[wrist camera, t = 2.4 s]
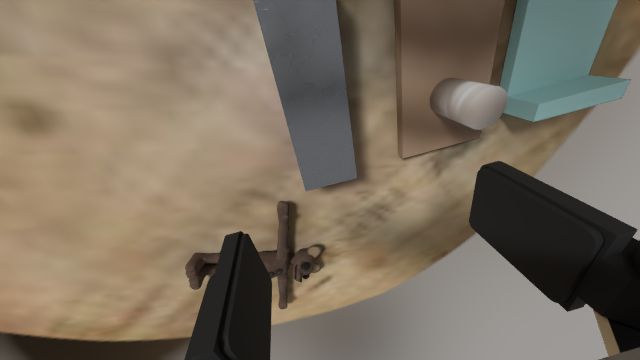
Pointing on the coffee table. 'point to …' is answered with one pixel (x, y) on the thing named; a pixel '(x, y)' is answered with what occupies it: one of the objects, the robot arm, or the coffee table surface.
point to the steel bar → (311, 85)
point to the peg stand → (445, 72)
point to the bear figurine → (265, 260)
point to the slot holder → (557, 58)
